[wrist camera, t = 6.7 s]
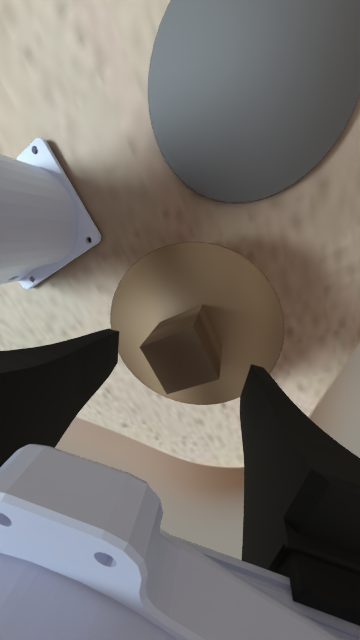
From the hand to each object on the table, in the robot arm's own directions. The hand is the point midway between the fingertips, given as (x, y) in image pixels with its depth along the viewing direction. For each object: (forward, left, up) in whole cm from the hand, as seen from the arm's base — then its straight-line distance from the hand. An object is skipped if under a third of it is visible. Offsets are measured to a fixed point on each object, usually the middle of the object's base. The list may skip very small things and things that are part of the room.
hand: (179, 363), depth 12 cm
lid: (0, 0, -4) cm, 4 cm away
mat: (+9, +11, -8) cm, 16 cm away
